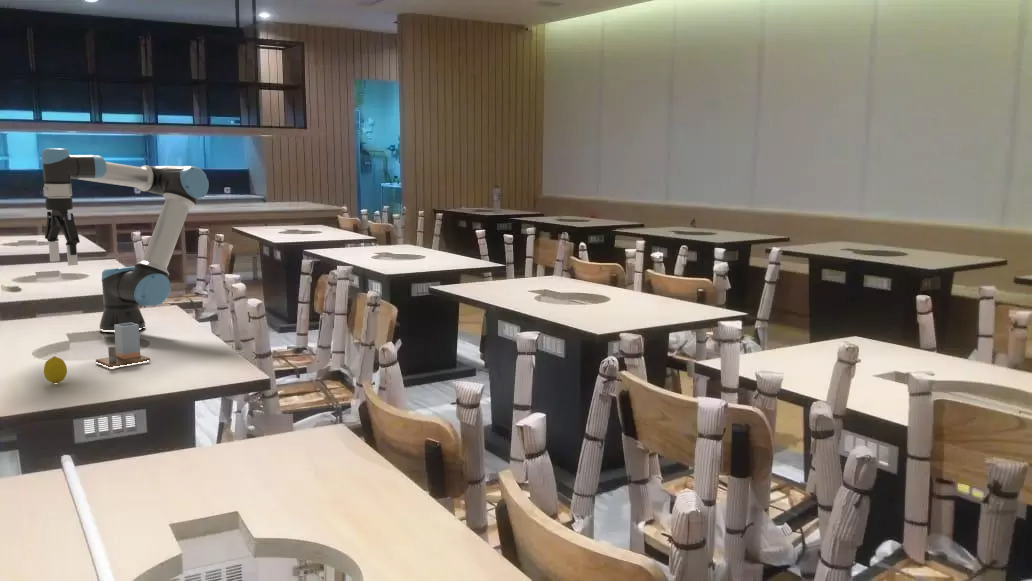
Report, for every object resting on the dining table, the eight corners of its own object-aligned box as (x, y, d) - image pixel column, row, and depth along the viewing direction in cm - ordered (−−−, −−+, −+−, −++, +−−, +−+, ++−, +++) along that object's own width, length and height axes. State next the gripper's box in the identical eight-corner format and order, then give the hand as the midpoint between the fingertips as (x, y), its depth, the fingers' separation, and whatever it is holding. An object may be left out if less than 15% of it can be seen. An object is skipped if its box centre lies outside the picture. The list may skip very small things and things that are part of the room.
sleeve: (132, 353, 256) (131, 322, 254) (140, 356, 252) (138, 324, 251) (116, 356, 252) (114, 324, 250) (123, 359, 248) (121, 327, 247)
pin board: (135, 357, 257) (134, 337, 256) (150, 362, 250) (149, 342, 249) (96, 364, 248) (94, 343, 247) (110, 369, 241) (108, 348, 240)
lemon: (44, 388, 221) (42, 359, 220) (45, 383, 226) (43, 355, 225) (67, 385, 224) (65, 357, 222) (68, 381, 228) (66, 353, 227)
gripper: (30, 196, 264) (35, 260, 268) (62, 199, 249) (68, 267, 252) (54, 195, 270) (59, 258, 273) (88, 198, 254) (93, 265, 258)
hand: (63, 263), depth 263 cm, fingers open, 13 cm apart
